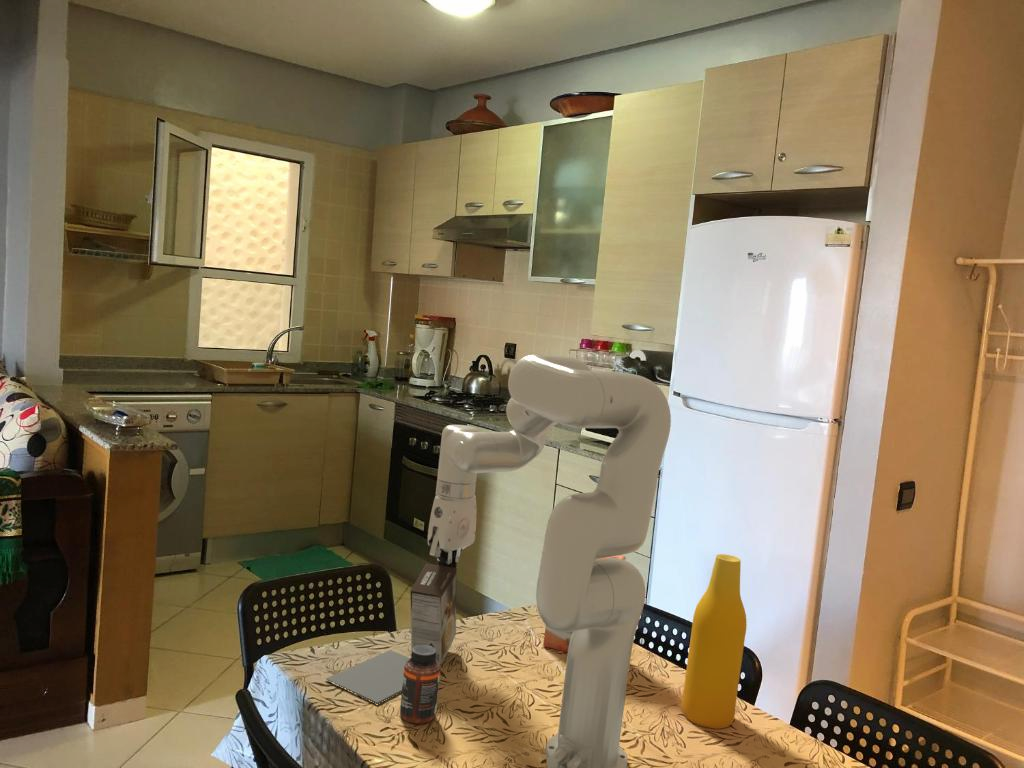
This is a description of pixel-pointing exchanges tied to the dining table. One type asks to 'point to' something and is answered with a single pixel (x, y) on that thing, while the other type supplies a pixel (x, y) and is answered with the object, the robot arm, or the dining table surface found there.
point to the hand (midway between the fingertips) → (445, 580)
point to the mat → (374, 677)
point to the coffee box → (434, 609)
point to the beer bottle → (716, 648)
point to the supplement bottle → (420, 685)
